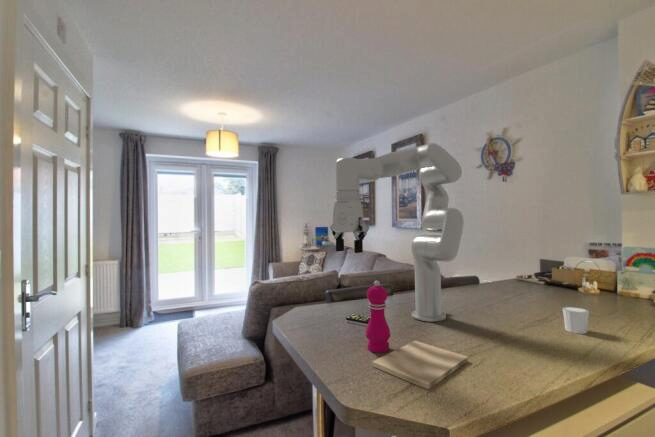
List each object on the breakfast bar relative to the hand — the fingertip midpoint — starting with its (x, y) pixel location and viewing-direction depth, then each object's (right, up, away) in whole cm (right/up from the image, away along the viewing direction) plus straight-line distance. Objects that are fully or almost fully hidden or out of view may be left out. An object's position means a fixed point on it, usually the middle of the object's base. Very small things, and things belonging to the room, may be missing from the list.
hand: (349, 251), depth 102 cm
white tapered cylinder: (+75, -27, +3) cm, 80 cm away
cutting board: (+17, -27, -19) cm, 38 cm away
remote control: (+6, -28, +16) cm, 33 cm away
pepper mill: (+8, -28, -8) cm, 30 cm away
